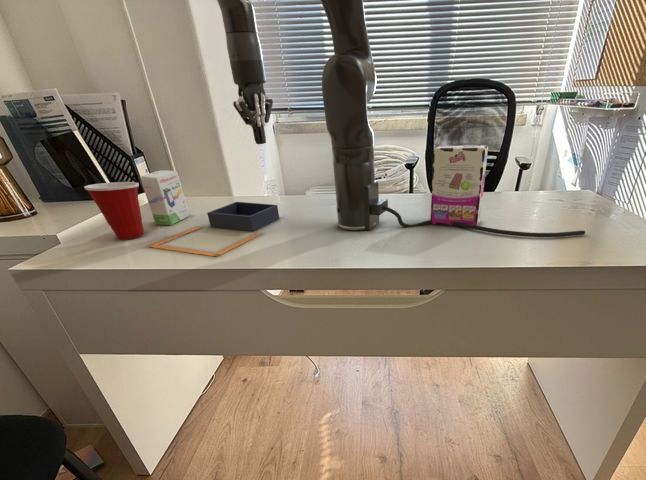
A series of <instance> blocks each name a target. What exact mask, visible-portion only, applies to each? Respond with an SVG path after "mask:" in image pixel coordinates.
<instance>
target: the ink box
mask: <svg viewBox="0 0 646 480" xmlns="http://www.w3.org/2000/svg"><path fill="white" fill-rule="evenodd" d="M139 179H140V182H141V184H142V187H143V190H144V194H145V197H146V199H147V202H148V206H149V208H150V212H151V215H152V218H153V220H154V221H153V222H154V224H155V225H162V226H164V225H165V226H173V225H175V224H177V223H178V222H180V221H183V219H187V218H188V217H189V216H191V215H190V211H189V209H188V205H187V202H186V201H187V200H186V197H185V194H184V191H183V188H182V184H181V180H180V177H179V173H178V171H177V170H165V169H164V170H157V171H153V172H149V173H146V174H143V175H140V177H139Z"/></svg>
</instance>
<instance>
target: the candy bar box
mask: <svg viewBox="0 0 646 480" xmlns="http://www.w3.org/2000/svg"><path fill="white" fill-rule="evenodd" d="M488 153H489V145H438V146H436V147H434V148H433V149H432V156H433V157H432V176H431V198H430V219H429V220H431V221H433V223H432V224H431V225H438V226H450V227H456V226H455V225H452V224H451V223H452V222H460V223H465V224H471V225H477V226H479V224H480V222H481V217H482V206H483V198H484V189H485V179H486V170H487V163H488V162H487V161H488Z"/></svg>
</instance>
